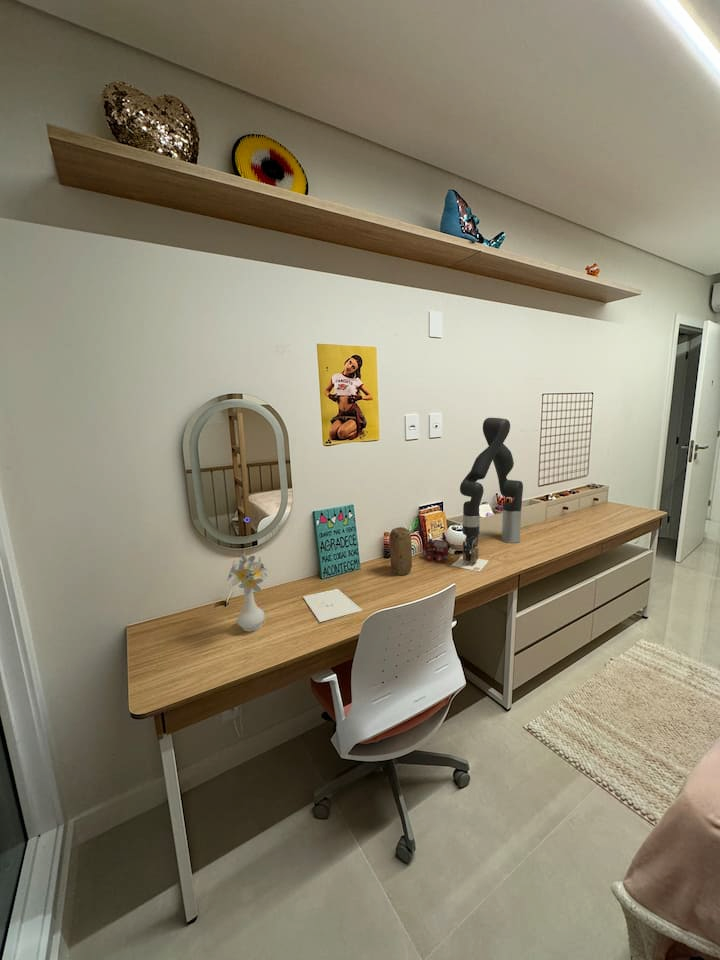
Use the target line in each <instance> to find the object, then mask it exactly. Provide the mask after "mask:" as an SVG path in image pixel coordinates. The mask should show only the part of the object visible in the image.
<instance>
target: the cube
mask: <svg viewBox="0 0 720 960" xmlns="http://www.w3.org/2000/svg"><path fill="white" fill-rule="evenodd" d="M469 547H470V546H469ZM467 551H468V550H467ZM462 555H463V561H466V553H464V549H463V548H462ZM478 559H479V547H478V546H477V547H473V549H472V550H471V561H467V562H472V563H475V562H476V561H477V560H478Z"/></svg>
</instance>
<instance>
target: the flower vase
mask: <svg viewBox="0 0 720 960" xmlns="http://www.w3.org/2000/svg"><path fill="white" fill-rule="evenodd" d="M240 557H241V560H238V562H239V563H236V559H235V558H234V559H233V563H232V567H231V568H230V570H229V574H228V578H227V580H226V582H227V581H228V580H229V579H231V578H232V577H234V578H233V580H232V581H231V586H232V587H233V586H236V585H237V584H239V583H240V582H241V583H240V584H239V585H238V587H239V589H243V596H244V597H243V598H244V599H243V600H244V604H243V608H242V610H241V611H240V612H239V613H238V615H237V619H236V623H237V625H238V626H239V627H241V628H242V630H244V632H248V633H249V632H255V631H257V630H259V629H260V628H261V627H262V624H263V623H264V621H265V618H266V615H265V612H264V610H263V609H262V608H260V607H259V606H258V605H257V603H256V599H255V597H254V592H255V593H256V592H257V593H259V592H261V591H262V588H261V587H260V585H258V584H261V583H266V582H267V580H266V577H268V575H267V573H268V572H269V571H268V568H266V567H265V565H264V563H262V560H261V556H260V555H259V556H258V557H259V558H258V560H257V561H255V559H256V556H255V555H250V556H249V557H247V556H246V555H245V554H243V553H241V554H240ZM264 575H265V576H264Z"/></svg>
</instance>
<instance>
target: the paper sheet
mask: <svg viewBox="0 0 720 960" xmlns="http://www.w3.org/2000/svg"><path fill="white" fill-rule="evenodd" d="M302 598H303V599H304V600H305V602H306V604H307V606H309V608H310V610H311V612H313V614H314V615H315V618H316V620H318V621H319V623H322V622H325V621H326V622H327V621H329V620H333V619H336V618H340V617H344V616H347V615H350V614H354V613H358V612H361V611H363V609H362V608H361V607H360V606H358V605H357V604H356V603H355V602H353V600H351V598H349V597H348V596H347V595H346V594H345V593H343V592H342V591H341V590H340V589H338V588H335V589H330V590H326V591H322V592H317V593H313V594H312V593H311V594H308V595H304V596H302Z"/></svg>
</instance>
